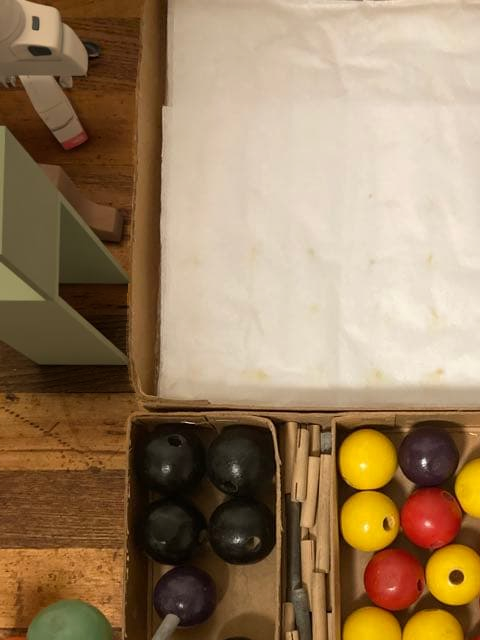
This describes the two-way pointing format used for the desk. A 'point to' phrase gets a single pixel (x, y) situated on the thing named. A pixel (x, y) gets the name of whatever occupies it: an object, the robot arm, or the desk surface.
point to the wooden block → (86, 206)
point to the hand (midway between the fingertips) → (39, 83)
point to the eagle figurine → (91, 48)
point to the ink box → (54, 109)
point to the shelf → (47, 267)
